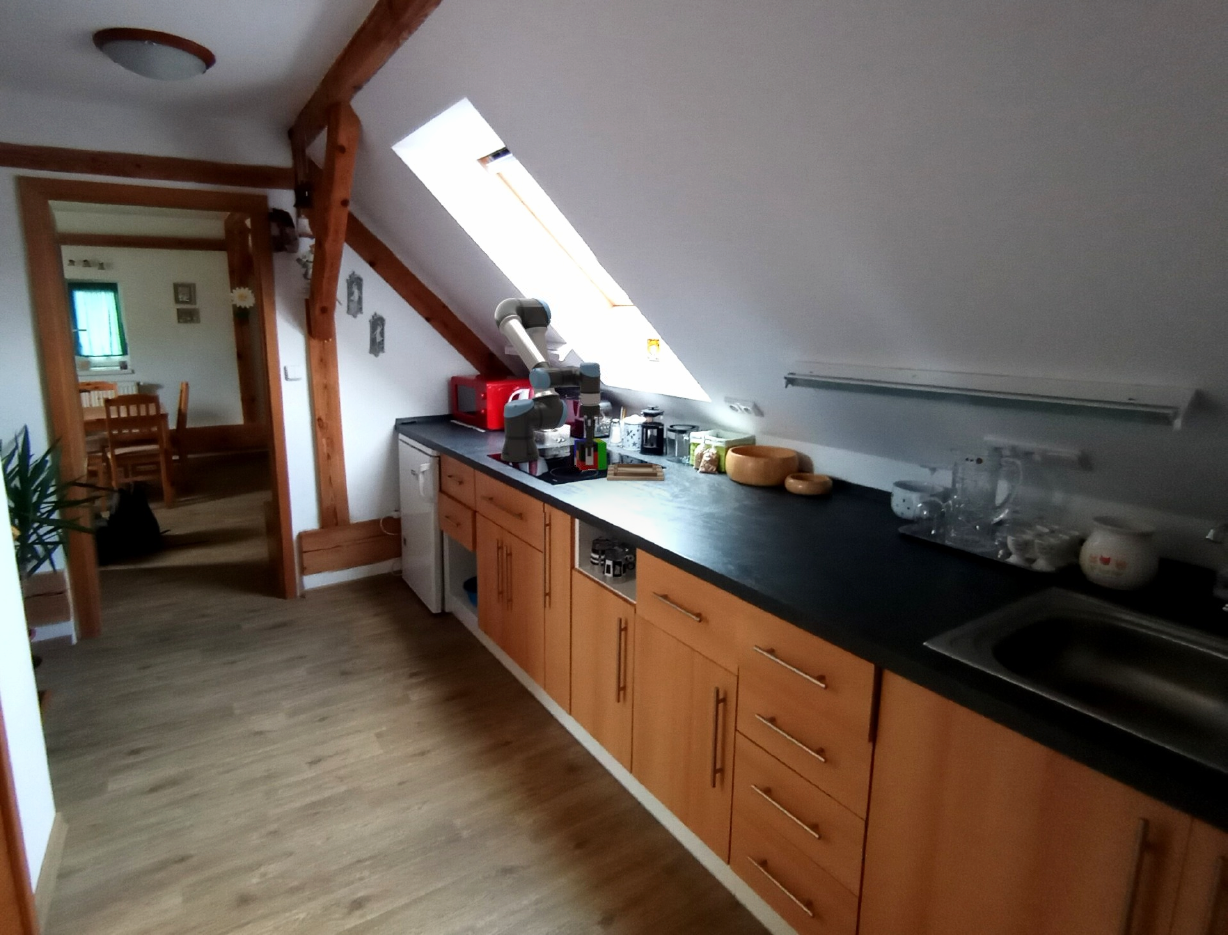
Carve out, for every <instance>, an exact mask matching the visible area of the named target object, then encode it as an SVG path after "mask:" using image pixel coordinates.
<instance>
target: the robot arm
mask: <svg viewBox="0 0 1228 935" xmlns="http://www.w3.org/2000/svg"><path fill="white" fill-rule="evenodd" d="M551 319H552V312H551V308H550V306H549V304H548V303H547V302H546V301H545V300H543V299H540V298H535V297H533V298H532V297H531V298H529V297H528V298H521V297H520V298H518V297H511V298H506V299H504V300H502V301H501V302H500V303H499V304H498V305H497V307H496V309H495V311H494V321H495V325H496V327H497V329H498V331H499V332H500V333H501V334H502V335H505V337H507V339H508V340H509V342H510V344H511V346H512V347H513V348H514V349H515V351H516V353H517V354H518V356H519V358H520V359H521V361H523V363H524V365H525V366H526V367H527V369H528V371H529V376H528V377H529V378H528V379H529V382H530V385H531V387H532V390H533V396H532V397H531V399H530V398H522V399H521V398H520V399H515V400H511V401H508V402H507V403H505V405H504V407H503V408H504V409H503V410H504V411H503V417H504V443H503V446H502V450H501V452H500V459H501V460H502V461H504V462H511V463H526V462H528V463H529V462H535V461H537V460H539V458H540V451H539V449H538V445H537V443H536V441H535V432H537V431H538V432H539V431H546V430H550V431H551V430H552V431H553V430H555V429H560V428H562V427H564V425H565V424H566V421H567V420H568V416H569V410H568V406H567V403H566V402H565V400H563V399H561V397H560V394H559V393H558V392H556V391H555V388H557V389H558V388H568V387H569V388H571V387H576V388H579V395H578V398H579V399H580V401H579V402H580V406H579V407H580V408H579V410H580V411H579V414H580V415H581V416H583V417H584V416H586V419H584V429H585V439H586V445H584V448H586V465H593V439H597V438H596V436H595V429H596V420H597V419H595V416H600V414H601V405H600V403H601V367H600V366H601V365H600V363H598V362H581V363H580V365H579V366H575V365H566V366H560V367H559V366H558V367H552V366H551V363H550V362H551V361H550V357H549V356H550V355H549V351H548V344H547V338H546V333H547V332H548V330H549V329H548V327H549V325H550V324H551Z"/></svg>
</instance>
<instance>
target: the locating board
mask: <svg viewBox="0 0 1228 935" xmlns="http://www.w3.org/2000/svg"><path fill="white" fill-rule="evenodd" d="M606 474H607V475H606V480H607V481H655V482H657V481H659V482H661V481H663V482H664V480H665V477H664V473H663V468H662V465H657V464H656V463H623V462H622V463H618V462H617V463H613V464H607V473H606Z"/></svg>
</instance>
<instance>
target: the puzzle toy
mask: <svg viewBox="0 0 1228 935" xmlns="http://www.w3.org/2000/svg"><path fill="white" fill-rule="evenodd" d="M573 442H574V443H573V446H574V449H573V450H574V451H573V452H574V454H573V455H574V458H573V459H574V466H575V465H576V466H575V467H576V468H577V467H578V468H579V469H578V468H577V469H578V470H579V471H581V470H583V471H589V470H588V469H599V470H608V463H607V462H608V461H607V460H608V459H607V457H608V456H607V452H608V450H607V449H608V448H607V442H606V441H604V440H603V439H602V438H596V439H593V465H586V448H584V445H586V438H581V439H578V438H577V439H573Z"/></svg>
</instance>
